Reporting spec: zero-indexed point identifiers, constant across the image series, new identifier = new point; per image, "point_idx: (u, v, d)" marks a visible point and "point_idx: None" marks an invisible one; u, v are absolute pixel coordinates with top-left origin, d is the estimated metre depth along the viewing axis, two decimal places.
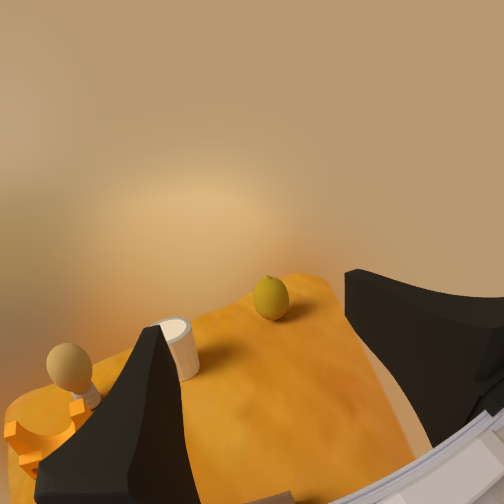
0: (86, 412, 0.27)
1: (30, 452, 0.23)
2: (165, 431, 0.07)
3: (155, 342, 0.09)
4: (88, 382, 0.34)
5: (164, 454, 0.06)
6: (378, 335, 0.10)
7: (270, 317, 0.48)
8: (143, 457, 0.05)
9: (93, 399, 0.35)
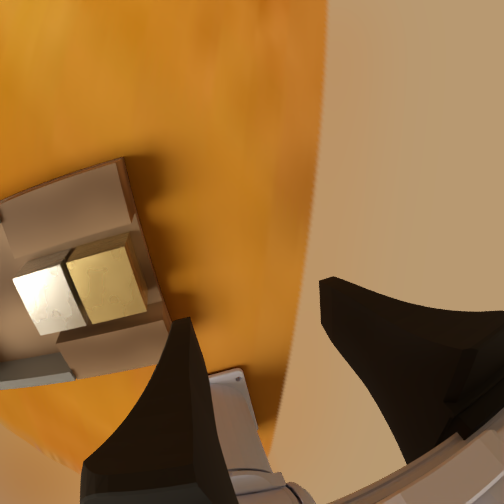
0: None
1: None
2: (205, 423, 0.07)
3: (189, 334, 0.09)
4: None
5: (209, 445, 0.06)
6: (352, 345, 0.10)
7: None
8: (198, 447, 0.05)
9: None
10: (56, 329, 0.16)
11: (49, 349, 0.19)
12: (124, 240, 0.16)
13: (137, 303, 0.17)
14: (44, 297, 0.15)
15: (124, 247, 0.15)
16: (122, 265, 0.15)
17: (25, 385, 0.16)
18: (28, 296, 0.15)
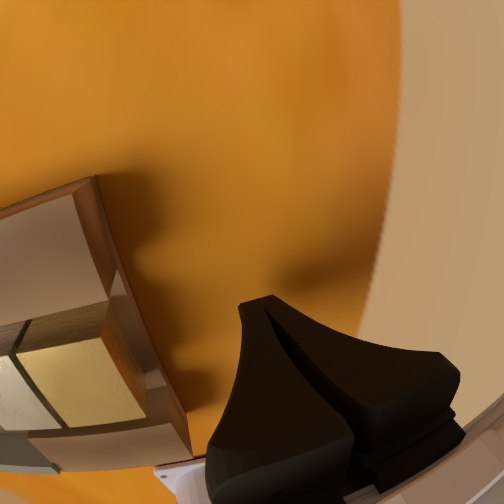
0: None
1: None
2: None
3: (265, 313, 0.10)
4: None
5: None
6: None
7: None
8: None
9: None
10: (23, 427, 0.09)
11: None
12: (101, 318, 0.09)
13: (131, 408, 0.10)
14: None
15: (100, 337, 0.09)
16: (101, 363, 0.09)
17: (1, 469, 0.10)
18: None
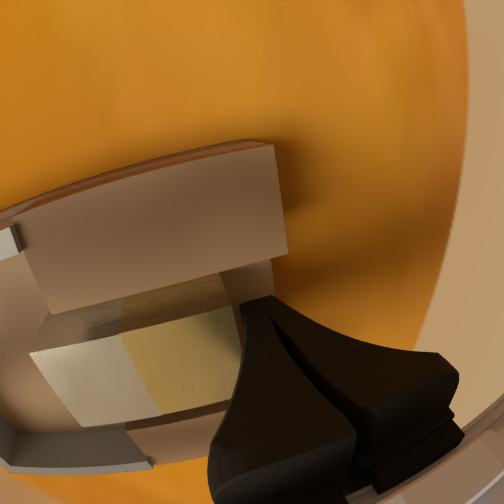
0: None
1: None
2: None
3: (267, 312, 0.10)
4: None
5: None
6: None
7: None
8: None
9: None
10: (109, 420, 0.10)
11: None
12: (220, 289, 0.10)
13: None
14: (89, 380, 0.09)
15: (230, 306, 0.09)
16: (224, 334, 0.09)
17: (72, 473, 0.11)
18: (59, 379, 0.09)
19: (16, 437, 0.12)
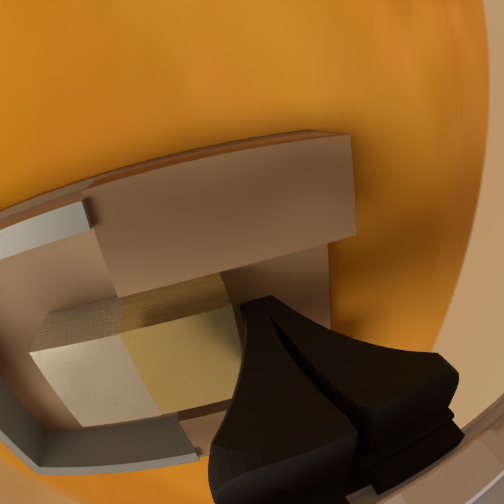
0: None
1: None
2: None
3: (267, 312, 0.10)
4: None
5: None
6: None
7: None
8: None
9: None
10: (110, 420, 0.10)
11: None
12: (220, 289, 0.10)
13: None
14: (88, 380, 0.09)
15: (231, 305, 0.09)
16: (224, 334, 0.09)
17: (110, 471, 0.11)
18: (60, 378, 0.09)
19: (44, 435, 0.12)
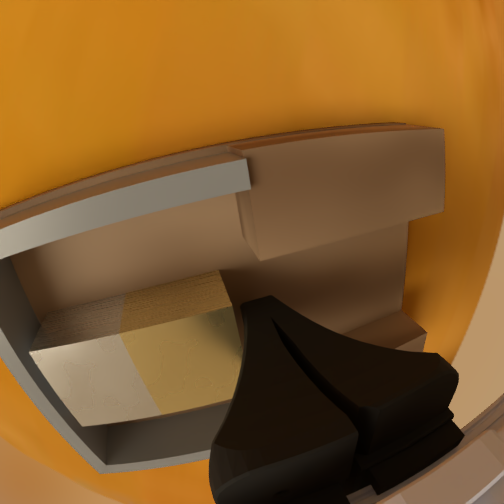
0: None
1: None
2: None
3: (268, 312, 0.10)
4: None
5: None
6: None
7: None
8: None
9: None
10: (109, 420, 0.10)
11: None
12: (221, 289, 0.10)
13: None
14: (88, 380, 0.09)
15: (231, 306, 0.09)
16: (224, 334, 0.09)
17: (192, 460, 0.12)
18: (59, 378, 0.09)
19: (106, 430, 0.13)
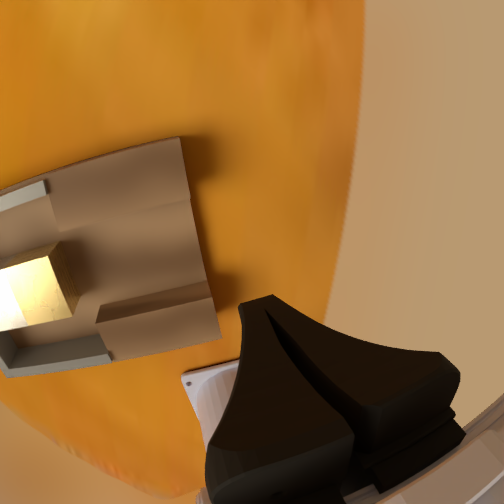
0: None
1: None
2: None
3: (265, 313, 0.10)
4: None
5: None
6: None
7: None
8: None
9: None
10: (4, 328, 0.15)
11: (81, 332, 0.19)
12: (51, 249, 0.16)
13: (63, 308, 0.16)
14: None
15: (48, 256, 0.15)
16: (47, 273, 0.15)
17: (54, 370, 0.17)
18: None
19: (16, 350, 0.18)
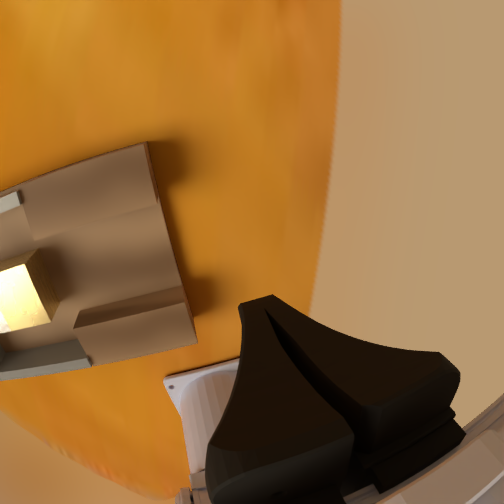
0: None
1: None
2: None
3: (265, 313, 0.10)
4: None
5: None
6: None
7: None
8: None
9: None
10: None
11: (63, 336, 0.19)
12: (29, 257, 0.15)
13: (42, 314, 0.16)
14: None
15: (25, 264, 0.14)
16: (25, 280, 0.15)
17: (38, 373, 0.17)
18: None
19: (4, 354, 0.18)
